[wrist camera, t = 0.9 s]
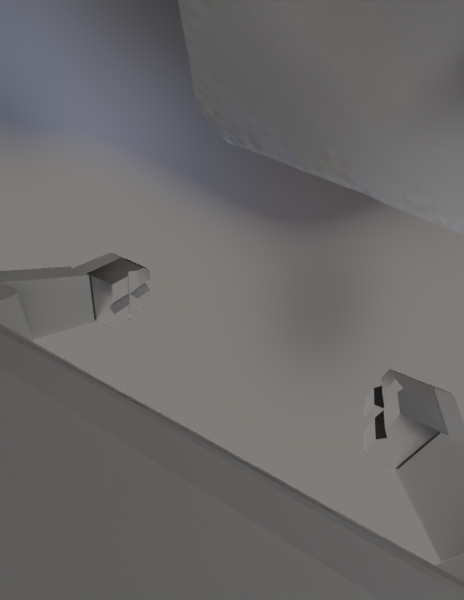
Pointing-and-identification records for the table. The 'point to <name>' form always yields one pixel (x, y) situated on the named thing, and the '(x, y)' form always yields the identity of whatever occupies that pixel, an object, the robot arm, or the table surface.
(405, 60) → the table surface
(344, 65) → the table surface
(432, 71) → the table surface
